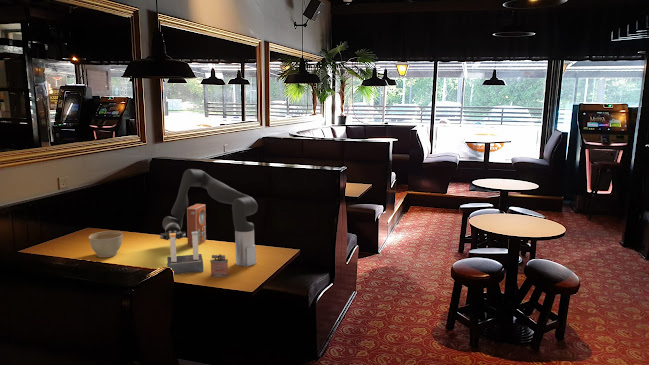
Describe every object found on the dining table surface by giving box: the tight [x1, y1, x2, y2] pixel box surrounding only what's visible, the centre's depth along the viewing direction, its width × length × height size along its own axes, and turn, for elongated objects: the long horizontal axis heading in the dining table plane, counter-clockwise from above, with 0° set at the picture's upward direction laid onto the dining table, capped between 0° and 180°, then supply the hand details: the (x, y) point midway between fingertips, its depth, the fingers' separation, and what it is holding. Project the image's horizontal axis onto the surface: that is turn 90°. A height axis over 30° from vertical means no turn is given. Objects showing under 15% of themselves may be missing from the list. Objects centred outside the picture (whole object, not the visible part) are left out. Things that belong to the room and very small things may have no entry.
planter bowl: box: [88, 230, 124, 258], centre depth 251 cm, size 16×16×11 cm
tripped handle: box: [169, 233, 177, 262], centre depth 224 cm, size 3×3×13 cm
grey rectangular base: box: [166, 253, 204, 275], centre depth 230 cm, size 12×16×5 cm
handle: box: [192, 231, 200, 260], centre depth 227 cm, size 3×3×13 cm
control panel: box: [186, 203, 207, 247], centre depth 271 cm, size 21×7×15 cm
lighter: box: [209, 254, 230, 278], centre depth 221 cm, size 8×3×10 cm, turn 92°
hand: (173, 239), depth 237 cm, fingers closed
